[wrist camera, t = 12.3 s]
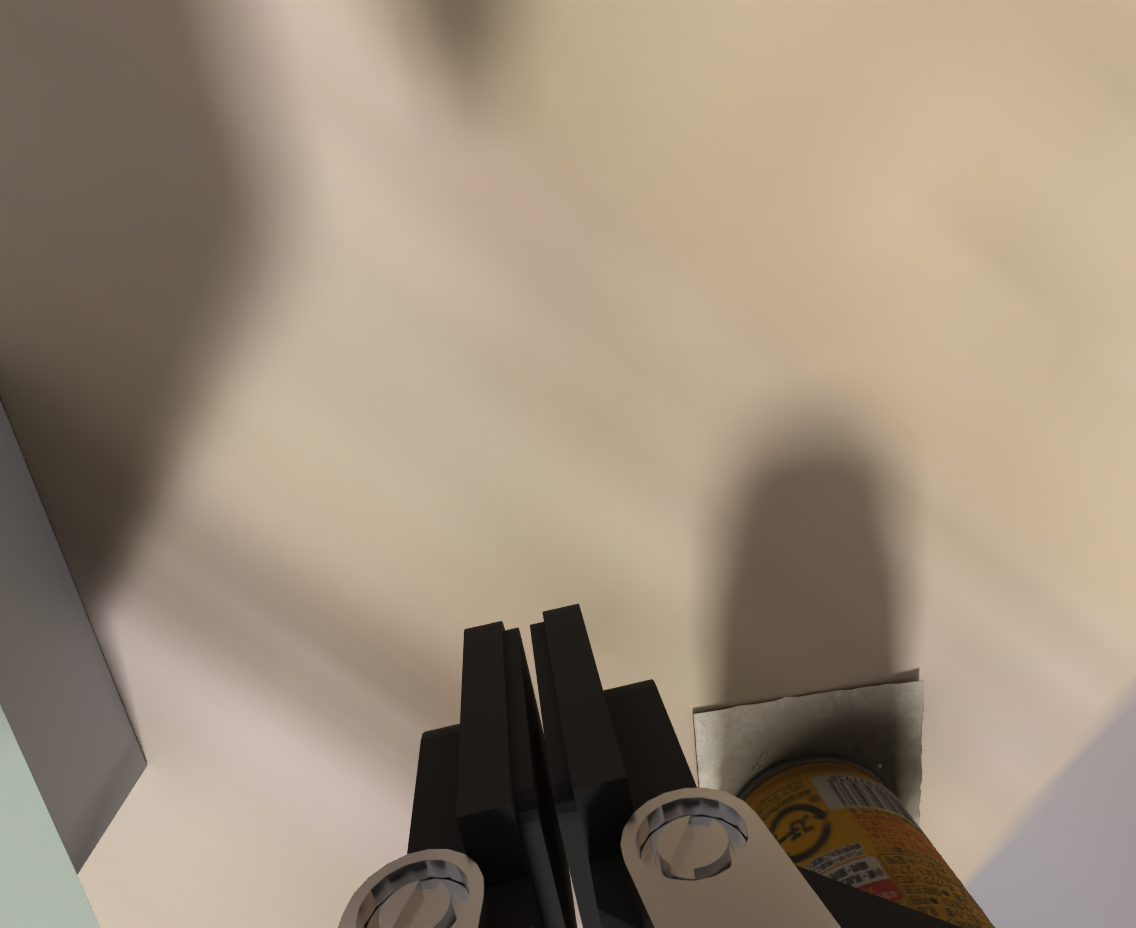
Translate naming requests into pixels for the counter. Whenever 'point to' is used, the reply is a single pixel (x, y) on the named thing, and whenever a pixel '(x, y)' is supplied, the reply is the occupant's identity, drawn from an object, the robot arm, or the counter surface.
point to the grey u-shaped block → (57, 672)
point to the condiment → (839, 789)
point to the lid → (33, 853)
